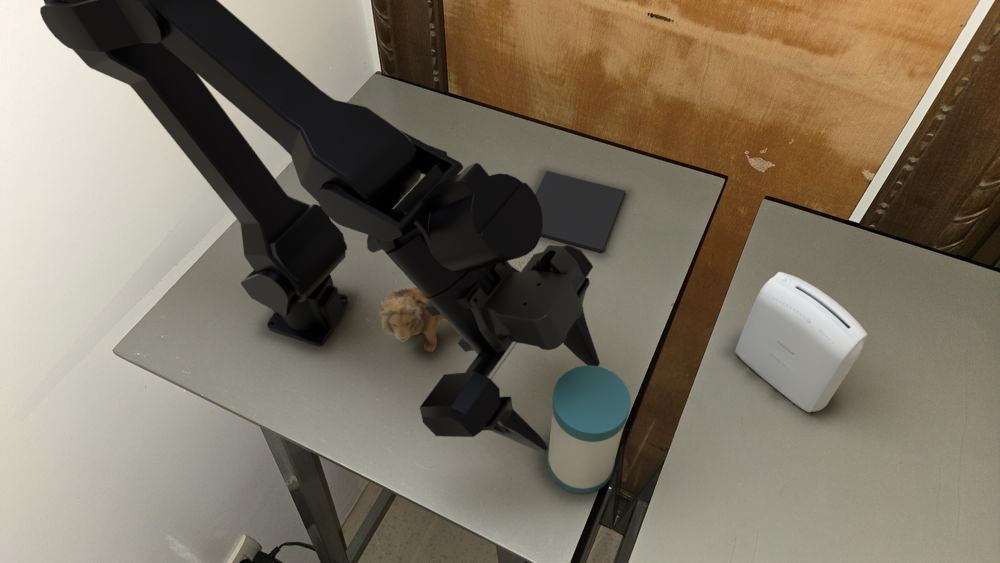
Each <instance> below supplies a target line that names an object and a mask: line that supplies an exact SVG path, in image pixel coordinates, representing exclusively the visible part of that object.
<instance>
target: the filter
mask: <svg viewBox="0 0 1000 563" xmlns="http://www.w3.org/2000/svg"><path fill="white" fill-rule="evenodd" d="M551 401H552V404H551V408H552V413H551V414H552V415H551V426H550V436H549V446H548V449H547V454H546V455H547V456H546V465H547V466H546V467H547V469H548V470H547V471H548V472H549V475H550V477H551V478H552V480H554V482H555V484H557V485H558V486H559V487H561V488H562V489H564V490H566V491H568V492H571V493H574V494H581V495H582V494H591V493H595V492H597V491H600V490H601V489H602V488H604V487H605V486H606V485H607V484H608V482H610V480H611V478H612V475H613V473H614V469H615V466H616V457H617V454H618V450H619V446H620V443H621V440H622V435H623V432H624V428H625V425H626V424H627V421H628V418H629V413H630V409H631V395H630V391H629V389H628V387H627V385H626V383H625V382H624V381H623V380H622V378H621V377H620V376H618V374H616V373H615V372H614V371H612V370H610V369H608V368H605V367H602V366H589V365H581V366H577V367H574V368H572V369H569V370H568V371H566V372H565V373H564V374H562V375H561V376H560V377H559V378H558V380H557V382H556V383H555V386H554V389H553V394H552V400H551Z"/></svg>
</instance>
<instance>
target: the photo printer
mask: <svg viewBox="0 0 1000 563" xmlns="http://www.w3.org/2000/svg"><path fill="white" fill-rule="evenodd" d="M742 329H743V330H742V332H741V334H740V336H739V339H738V341H737V344H736V347H735V350H734V351H735V354H736V355H737V356H738V357H739V359H740V360H742V362H744V363H745V364H746V365H747V366H748V367H749V368H750V369H751V370H753V371H754V372H755V373H756V374H757V375H758V376H760V378H762V379H763V380H764V381H766V382H767V383H768V384H770V386H772V387H773V388H774V389H775V390H777V391H778V392H779V393H780V394H782V395H783V396H784V397H786V398H787V399H788V400H789V401H791V402H792V403H793V404H795V405H796V406H797V407H798V408H800V409H802V410H803V411H805V412H806V413H811V412H812V413H814V412H815V413H816V412H819V411H821V410H823V409H824V408H826V406H827V405H828V404H829V402H830V401H831V399H832V397H833V396H834V395H835V393H836V392H837V390H838V389H839V387H840V385H841V384H842V383H843V381H844V379H845V378H846V376H847V375H848V373H849V371H851V368H852V367H853V366H854V364H855V363H856V361H857V359H858V358H859V356H861V353H862V351H863V348H864V344H865V342H866V340H867V338H868V333H867V331H866V330H865V329H864V328H863V327H862V325H861V324H860V323H859V322H858V320H856V318H855V317H854V316H852V315H851V313H850V312H848V311H847V310H846V309H845V308H844V307H843V306H842V305H841V304H839V303H838V302H837V301H835V299H833V298H832V297H831V296H829V295H827V294H826V293H824V291H822V290H821V289H819V288H817V287H816V286H815V285H812V284H810V283H809V282H807V281H806V280H804V279H801V278H799V277H798V276H795V275H793V274H789V273H787V272H782V271H778V272H776V274H775V275H774V276H772V277H771V278H770V279H768V280H767V282H765V284H764V285H762V287H761V288H760V291H759V292H758V294H757V296H756V298H755V301H754V303H753V305H752V308H751V310H750V314H749V315H748V318H747V320H746V322H745V325H744V327H743V328H742Z"/></svg>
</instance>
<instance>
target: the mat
mask: <svg viewBox="0 0 1000 563" xmlns="http://www.w3.org/2000/svg"><path fill="white" fill-rule="evenodd" d="M534 194H535V195H536V197H537V199H538V202H539V204H540V207H541V211H542V216H543V228H542V233H541V237H540V238H545V239H548V240H552V241H556V242H559V243H564V244H566V245H569V246H573V247H578V248H581V249H584V250H585V249H586V250H589V251H592V252H596V253H600V254H603V253H604V250H605V247H606V245H607V242H608V239H609V237H610V234H611V231H612V229H613V227H614V223H615V222H616V219H617V216H618V213H619V211H620V208H621V205H622V203H623V200H624V198H625V195H626V190H624V189H621V188H618V187H617V188H616V187H612V186H609V185H604V184H602V183H601V184H600V183H598V182H593V181H589V180H584V179H581V178H577V177H573V176H570V175H566V174H561V173H557V172H554V171H550V170H546V171H545V174H544V175H543V177H542V179H541V182H540V184H539V186H538V188H537V189H536V191H535V193H534Z"/></svg>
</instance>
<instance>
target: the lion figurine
mask: <svg viewBox="0 0 1000 563" xmlns="http://www.w3.org/2000/svg"><path fill="white" fill-rule="evenodd" d="M380 303H381V304H380V308H379V313H378V316H379V317H380V325H381V328H382V331H384V332H385V333H387V334H390V335H391V336H395V339H397V340H399V341H400V342H407V340H409V339H410V338H411V337H412V336H417V335H419V334H421V333H423V334H424V336H425V337H426V341H425V342H424V343H423V347H424V348H423V349H424V350H425V351H427V352H430V353H433V352H434V351H435V350H436V348H437V346H438V340H437V339H438V338H437V329H438V328H439V322H440V321H444V320H446V319H445V318H444V317H443V316H442V315H437V316H432V315H431V314H430V313H429V312H428V311H427V310H426V309H425V308H424V307H425V306H426V305H427V304H428V303H429V300H428V299H427V298H426V297H425V296H424V295H423V294H422V292H421V291H420V290H419V289H418V288H417V287H416V286H414V287H412V288H411V287H405V288H404V289H399V290H397V291H392V292H391V293H390V294H388V295H387V296H386V297H385V299H384V300H382V301H381V302H380Z"/></svg>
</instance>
